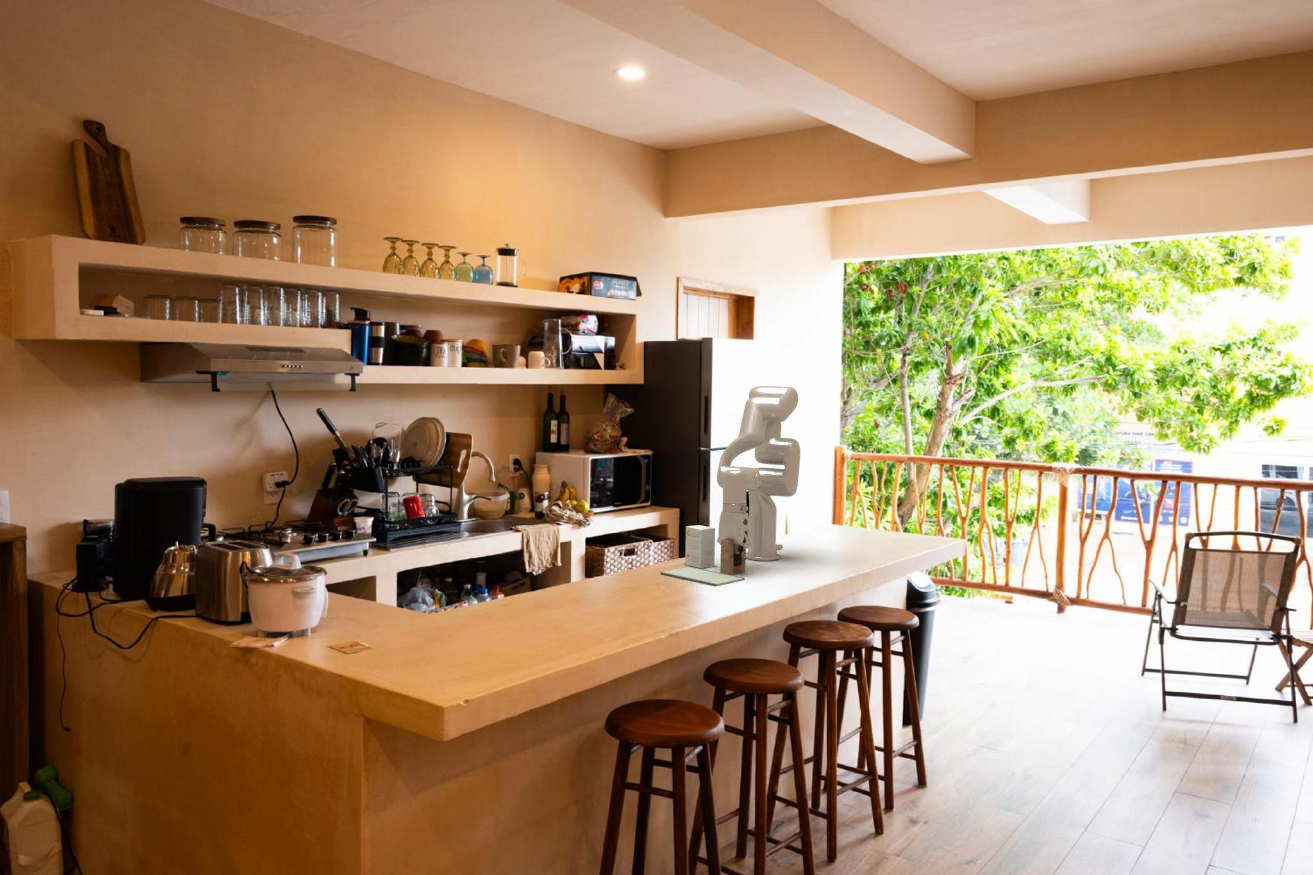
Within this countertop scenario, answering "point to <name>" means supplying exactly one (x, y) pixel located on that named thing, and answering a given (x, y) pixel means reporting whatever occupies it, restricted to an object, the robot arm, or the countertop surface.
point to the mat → (702, 576)
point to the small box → (700, 546)
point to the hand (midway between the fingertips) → (733, 564)
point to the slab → (730, 558)
